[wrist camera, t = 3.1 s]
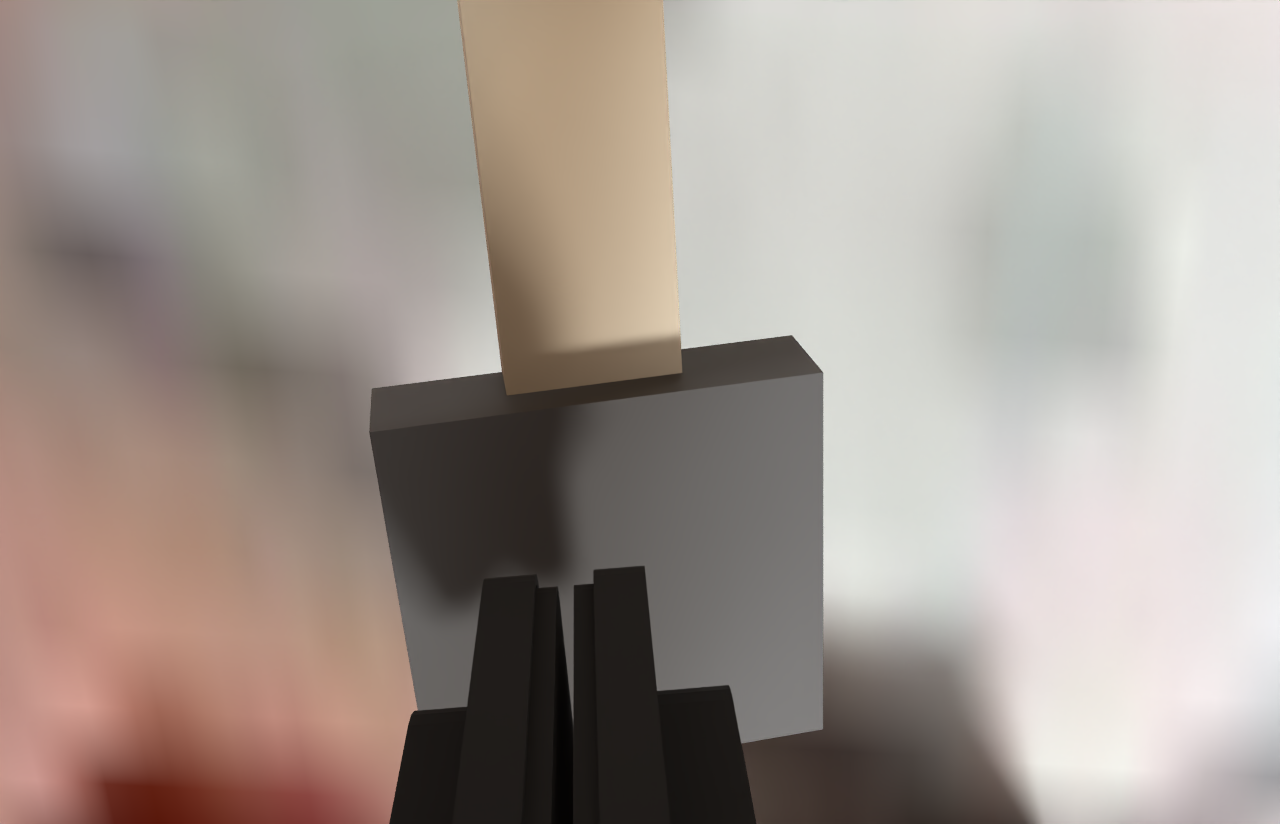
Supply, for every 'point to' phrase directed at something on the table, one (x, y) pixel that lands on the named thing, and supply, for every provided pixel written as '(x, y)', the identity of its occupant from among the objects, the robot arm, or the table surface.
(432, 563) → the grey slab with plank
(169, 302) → the table surface
